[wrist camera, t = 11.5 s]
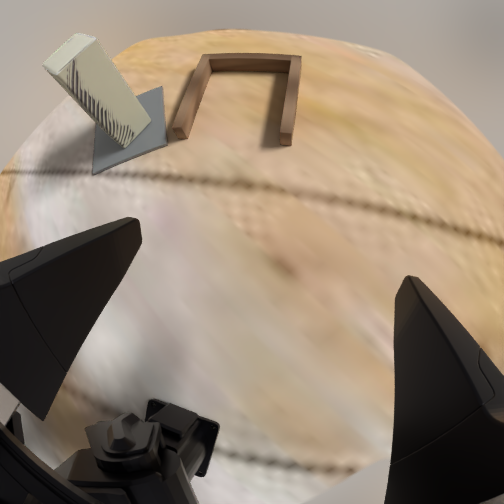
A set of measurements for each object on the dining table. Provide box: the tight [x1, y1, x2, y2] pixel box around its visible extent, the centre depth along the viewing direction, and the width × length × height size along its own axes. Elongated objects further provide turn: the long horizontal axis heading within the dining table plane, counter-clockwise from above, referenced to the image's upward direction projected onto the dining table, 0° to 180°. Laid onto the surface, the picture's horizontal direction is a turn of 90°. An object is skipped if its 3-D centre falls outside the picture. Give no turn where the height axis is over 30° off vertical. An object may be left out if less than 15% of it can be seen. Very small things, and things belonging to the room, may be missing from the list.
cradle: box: [172, 53, 301, 146], centre depth 25 cm, size 11×11×2 cm
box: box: [42, 33, 151, 148], centre depth 20 cm, size 5×4×13 cm
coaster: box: [93, 86, 168, 175], centre depth 27 cm, size 9×9×1 cm
